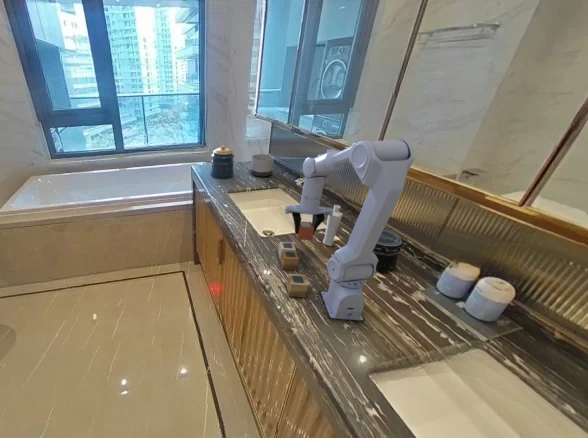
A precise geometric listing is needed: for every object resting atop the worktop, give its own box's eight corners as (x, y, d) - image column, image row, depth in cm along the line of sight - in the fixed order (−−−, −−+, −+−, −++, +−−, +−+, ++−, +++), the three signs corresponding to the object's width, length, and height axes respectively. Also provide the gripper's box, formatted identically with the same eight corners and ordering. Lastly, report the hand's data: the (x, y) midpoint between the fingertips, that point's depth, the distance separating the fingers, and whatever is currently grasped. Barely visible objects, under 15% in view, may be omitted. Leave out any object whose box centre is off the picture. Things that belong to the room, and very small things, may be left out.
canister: (209, 172, 174) (209, 143, 165) (229, 170, 176) (231, 142, 167) (214, 179, 162) (214, 149, 154) (236, 178, 164) (237, 147, 156)
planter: (246, 172, 173) (247, 155, 168) (265, 169, 176) (266, 153, 171) (256, 179, 162) (258, 161, 157) (276, 176, 166) (278, 159, 161)
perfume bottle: (336, 247, 102) (346, 209, 94) (323, 245, 102) (332, 208, 95) (333, 240, 105) (343, 203, 98) (321, 239, 106) (329, 203, 99)
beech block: (296, 270, 90) (299, 258, 88) (282, 269, 91) (284, 258, 89) (294, 261, 94) (296, 250, 92) (280, 261, 95) (282, 249, 92)
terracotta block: (311, 240, 93) (314, 228, 91) (297, 239, 94) (300, 227, 92) (308, 233, 97) (311, 221, 95) (295, 232, 98) (297, 221, 96)
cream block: (293, 260, 95) (295, 249, 92) (279, 260, 95) (281, 248, 93) (291, 253, 99) (293, 242, 96) (278, 252, 99) (279, 241, 97)
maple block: (305, 297, 80) (308, 285, 78) (288, 296, 80) (291, 283, 78) (301, 286, 84) (304, 274, 82) (286, 285, 84) (288, 273, 82)
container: (388, 253, 98) (398, 228, 93) (399, 277, 87) (410, 250, 82) (348, 247, 101) (355, 223, 96) (353, 269, 90) (362, 243, 86)
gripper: (331, 191, 91) (323, 227, 98) (285, 190, 93) (280, 225, 99) (338, 200, 85) (329, 238, 92) (289, 198, 86) (283, 236, 93)
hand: (304, 232), depth 95 cm, fingers closed on terracotta block, 4 cm apart
